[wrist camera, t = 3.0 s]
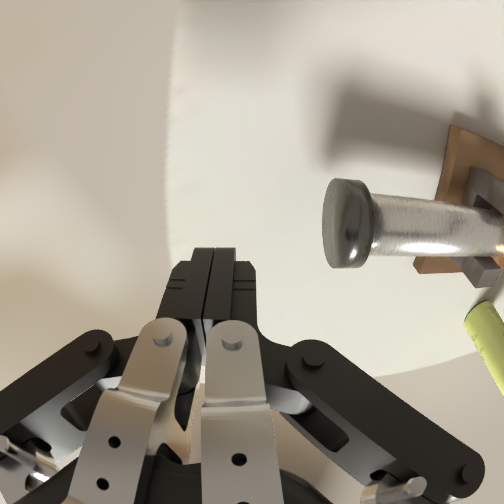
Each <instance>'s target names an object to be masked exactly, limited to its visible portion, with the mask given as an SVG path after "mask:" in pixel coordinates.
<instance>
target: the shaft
mask: <svg viewBox="0 0 504 504" xmlns="http://www.w3.org/2000/svg"><path fill="white" fill-rule="evenodd" d="M322 236H323V246H324V251H325V256H326V259H327V261H328V263H329V265H330V266H331V267H332V268H359V267H361V266H362V265H363V264H364V263H365V262H366V260H367V258H368V256H491V257H492V258H493V259H494V261H495V262H496V263H497V264H498V265H499V266H500V267H504V215H503V214H502V213H501V212H500V211H499V210H497V209H496V208H495V207H494V206H493V207H492V208H491V210H489V209H484V208H478V207H473V206H467V205H461V204H455V203H448V202H441V201H434V200H427V199H419V198H411V197H402V196H393V195H384V194H373V193H370V192H369V190H368V188H367V186H366V185H365V184H364V183H363V182H362V181H360V180H350V179H338V178H335V179H333V180H332V181H331V182H330V183H329V185H328V188H327V191H326V194H325V199H324V205H323V216H322Z"/></svg>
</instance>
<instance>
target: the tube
mask: <svg viewBox="0 0 504 504" xmlns="http://www.w3.org/2000/svg"><path fill="white" fill-rule="evenodd" d="M464 327H465V329H466V330H467V332H468V334H469V336H470V337H471V339H472V341H473V343H474V344H475V346H476V348H477V350H478V351H479V353H480V355H481V357H482V358H483V360H484V362H485V364H486V366H487V367H488V369H489V371H490V373H491V374H492V376H493V378H494V380H495V382H496V384H497V385H498V387H499V389H500V391H501V392H502V394H503V396H504V322H503V321H502V319H501V317H500V316H499V314H498V312H497V311H496V309H495V307H494V306H493V304H492V303H491V302H490V301H484V302H482V303H480V304H478V305H477V306H476V307H474V308H473V309H472V310H471V312H470V313H469V314H468V315H467V317H466V319H465V322H464Z"/></svg>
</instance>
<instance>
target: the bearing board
mask: <svg viewBox="0 0 504 504" xmlns="http://www.w3.org/2000/svg"><path fill="white" fill-rule="evenodd" d="M435 201H441V202H448V203H455V204H461V205H467V206H473V207H478V208H484V209H489V210H491V208H492V207H493V206H494V207H495V208H496V209H497V210H499V211H500V212H501V213H502V214H503V215H504V147H503V146H500V145H498V144H496V143H494V142H492V141H490V140H487V139H485V138H483V137H480V136H478V135H476V134H473V133H471V132H468V131H466V130H463V129H460V128H458V127H455V126H452V125H450V131H449V137H448V143H447V149H446V154H445V159H444V164H443V169H442V173H441V177H440V182H439V186H438V190H437V193H436V197H435ZM413 266H414V267H415V269H416V270H417V272H418V273H419V274H431V273H455V272H463V273H464V274H465V275H466V277H467V278H468V279H469V281H470V282H471V283H472V285H473V286H474V287H475V288H483V287H491V286H493V285H494V283H495V281H496V279H497V278H498V276H499V274H500V272H501V270H504V267H500V266H499V265H498V264H497V263H496V262H495V261H494V259H493V258H492V257H491V256H416V259H415V261H414V264H413Z"/></svg>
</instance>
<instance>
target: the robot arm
mask: <svg viewBox="0 0 504 504" xmlns="http://www.w3.org/2000/svg"><path fill="white" fill-rule="evenodd" d="M201 365H206V369H205V403H204V405H203V406H202V411H201V463H197V464H189V459H190V452H191V441H190V432H191V426H192V421H193V416H194V412H195V407H196V401H197V397H198V392H199V387H200V380H199V378H200V370H201ZM93 384H94V385H93ZM92 385H93V386H92ZM91 386H92V387H91ZM89 387H90V388H89ZM88 388H89V389H88ZM86 389H88V390H86ZM85 390H86V391H85ZM84 391H85V392H84ZM82 392H83V393H82ZM81 393H82V394H81ZM80 394H81V395H80ZM78 395H79V396H78ZM77 396H78V397H77ZM75 397H76V398H75ZM74 398H75V399H74ZM73 399H74V400H73ZM71 400H72V401H71ZM271 409H273V410H276V411H279V412H280V414H281V415H282V416H283V417H284V418H285V419H286V420H287V421H288V422H289V423H290V424H291V425H292V426H293V427H294V428H295V429H297V430H298V431H299V432H300V433H301V434H302V435H303V436H304V437H305V438H306V439H308V440H309V441H310V442H311V443H312V444H313V445H314V446H315V447H317V448H318V449H319V450H320V451H321V452H322V453H324V454H325V455H326V456H327V457H328V458H330V459H331V460H332V461H333V462H334V463H336V464H337V465H338V466H339V467H340V468H342V469H343V470H344V471H346V472H347V473H348V474H349V475H351V476H352V477H353V478H354V479H356V480H357V481H358V482H360V483H361V484H362V485H364V486H365V488H364V490H363V492H362V494H361V497H360V504H449V503H451V502H454V501H458V500H460V499H463V498H466V497H469V496H470V495H472V494H473V493H474V492H475V491H476V490H477V489H478V488H479V486H480V485H481V483H482V481H483V478H484V474H485V465H484V461H483V459H482V457H481V456H480V454H478V453H477V452H475V451H474V450H473V449H471V448H470V447H468V446H467V445H465V444H463V443H462V442H461V441H459V440H458V439H456V438H455V437H454V436H452V435H451V434H449V433H448V432H446V431H445V430H444V429H442V428H441V427H439V426H438V425H436V424H435V423H434V422H432V421H431V420H429V419H428V418H427V417H425V416H424V415H422V414H421V413H419V412H418V411H417V410H415V409H414V408H412V407H411V406H410V405H409V404H407V403H406V402H404V401H403V400H402V399H400V398H399V397H397V396H396V395H395V394H393V393H392V392H391V391H389V390H388V389H387V388H385V387H384V386H383V385H381V384H380V383H379V382H377V381H376V380H375V379H373V378H372V377H371V376H369V375H368V374H367V373H365V372H364V371H363V370H361V369H360V368H359V367H357V366H356V365H355V364H353V363H352V362H351V361H350V360H348V359H347V358H346V357H344V356H343V355H342V354H340V353H339V352H338V351H336V350H335V349H334V348H333V347H331V346H330V345H328V344H327V343H325V342H322V341H319V340H311V339H310V340H303V341H300V342H298V343H296V344H294V345H293V346H292V347H289V346H285V345H281V344H277V343H274V342H272V341H270V340H268V339H267V338H266V337H264V336H263V335H262V333H261V332H260V331H259V329H258V326H257V305H256V271H255V269H254V267H253V266H252V264H251V263H250V261H236V249H235V248H195V249H194V251H193V255H192V258H191V261H180V262H179V263H178V264H177V265H176V266H175V267H174V268H173V269H172V272H171V275H170V278H169V281H168V284H167V286H166V290H165V292H164V295H163V298H162V301H161V304H160V307H159V310H158V313H157V316H156V319H155V320H153V321H151V322H149V323H148V324H146V325H145V326H144V327H143V329H142V330H141V332H140V334H139V336H136V337H132V338H128V339H121V340H116V341H114V340H113V339H112V337H111V335H110V334H109V333H107V332H106V331H103V330H91V331H88V332H86V333H84V334H82V335H81V336H79V337H78V338H76V339H75V340H73V341H72V342H70V343H69V344H67V345H66V346H64V347H63V348H62V349H60V350H59V351H57V352H56V353H54V354H53V355H52V356H50V357H49V358H47V359H46V360H44V361H43V362H41V363H40V364H38V365H37V366H35V367H34V368H33V369H31V370H30V371H28V372H27V373H25V374H24V375H23V376H21V377H20V378H18V379H17V380H16V381H14V382H13V383H11V384H10V385H9V386H7V387H6V388H4V389H3V390H2V391H0V491H1V493H2V495H3V497H4V499H5V501H6V503H7V504H333V503H332V502H330V501H329V500H328V499H327V498H326V497H324V496H323V495H322V494H321V493H320V492H319V491H318V490H317V489H315V487H313V486H312V485H311V484H310V483H309V482H307V481H306V480H304V479H303V478H301V477H299V476H297V475H296V474H293V473H291V472H289V471H286V470H283V469H280V468H279V465H278V458H277V451H276V444H275V436H274V429H273V422H272V416H271ZM82 445H83V446H82ZM81 446H82V449H81V452H80V455H79V457H77V458H76V459H75V460H73V461H72V462H71V463H69V464H68V465H67V466H65V467H64V468H63V469H61V470H59V468H58V467H57V466H56V463H58V462H59V461H61V460H62V459H64V458H65V457H67V456H68V455H69V454H71V453H72V452H74V451H75V450H77V449H78V448H79V447H81Z"/></svg>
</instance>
